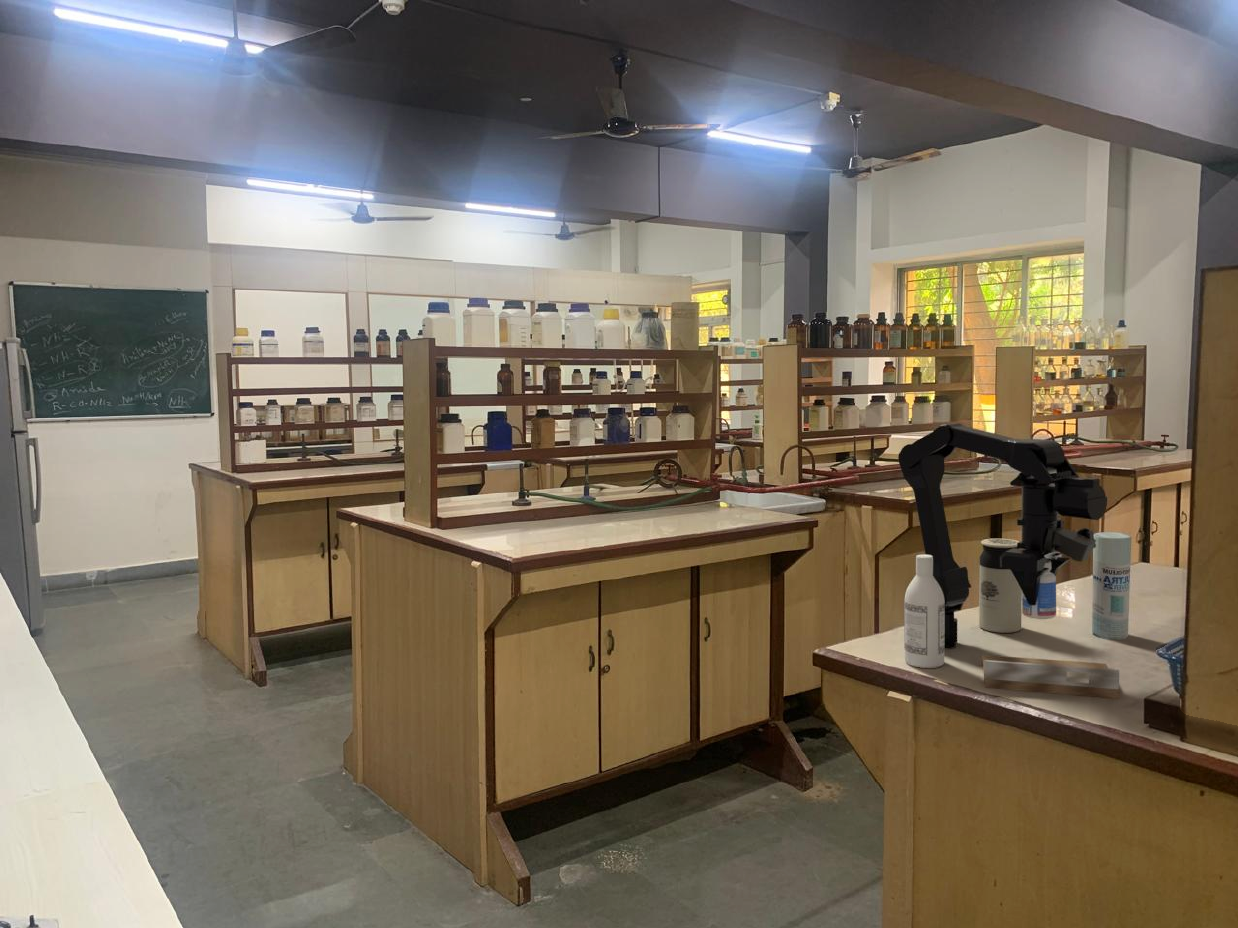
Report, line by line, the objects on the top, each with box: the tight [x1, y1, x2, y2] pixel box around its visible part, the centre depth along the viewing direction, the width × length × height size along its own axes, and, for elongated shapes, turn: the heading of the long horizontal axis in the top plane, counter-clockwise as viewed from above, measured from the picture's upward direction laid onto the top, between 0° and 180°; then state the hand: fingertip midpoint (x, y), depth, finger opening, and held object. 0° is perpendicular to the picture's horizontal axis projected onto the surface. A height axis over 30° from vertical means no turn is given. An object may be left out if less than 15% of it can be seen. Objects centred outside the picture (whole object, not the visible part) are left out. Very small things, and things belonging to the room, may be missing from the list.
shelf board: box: [982, 654, 1120, 699], centre depth 155 cm, size 20×13×4 cm, turn 70°
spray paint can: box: [1091, 531, 1132, 641], centre depth 177 cm, size 6×6×20 cm
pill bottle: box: [1021, 559, 1057, 620], centre depth 158 cm, size 6×5×10 cm
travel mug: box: [978, 538, 1023, 634], centre depth 184 cm, size 8×8×18 cm
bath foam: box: [903, 553, 946, 669], centre depth 165 cm, size 7×7×20 cm
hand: (1038, 601), depth 158 cm, fingers closed on pill bottle, 5 cm apart
